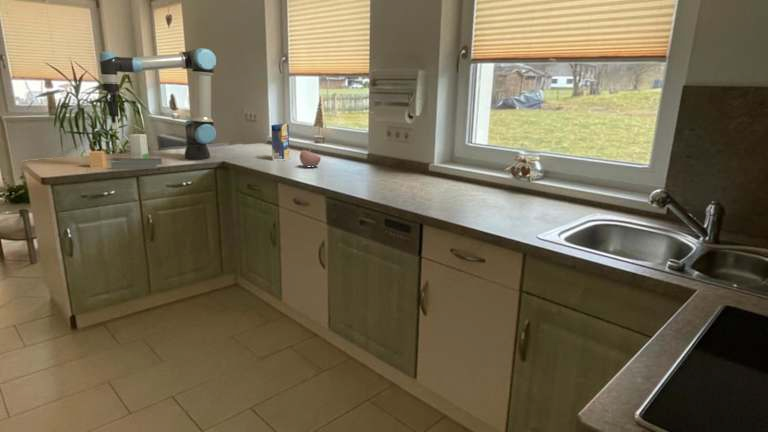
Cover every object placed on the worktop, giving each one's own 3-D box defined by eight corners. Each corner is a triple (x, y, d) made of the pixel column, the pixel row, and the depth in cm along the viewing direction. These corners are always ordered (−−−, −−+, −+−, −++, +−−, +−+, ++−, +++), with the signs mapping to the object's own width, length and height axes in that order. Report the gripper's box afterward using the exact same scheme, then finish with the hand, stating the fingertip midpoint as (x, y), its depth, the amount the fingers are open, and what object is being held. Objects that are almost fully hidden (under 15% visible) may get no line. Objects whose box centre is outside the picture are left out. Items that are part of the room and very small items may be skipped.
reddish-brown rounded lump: (324, 168, 280) (324, 148, 277) (307, 169, 273) (306, 149, 270) (313, 165, 289) (313, 146, 286) (296, 166, 281) (295, 147, 278)
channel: (162, 164, 274) (161, 158, 274) (156, 168, 260) (155, 162, 259) (119, 164, 269) (119, 158, 269) (111, 168, 255) (110, 162, 254)
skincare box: (142, 162, 278) (139, 135, 274) (131, 161, 278) (128, 134, 274) (149, 160, 286) (146, 133, 282) (138, 159, 286) (135, 133, 282)
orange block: (106, 165, 264) (104, 151, 262) (102, 167, 258) (101, 152, 256) (94, 165, 262) (92, 151, 260) (90, 167, 257) (88, 152, 255)
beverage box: (289, 159, 309) (288, 124, 303) (282, 161, 299) (281, 125, 293) (279, 158, 310) (278, 123, 304) (272, 160, 300) (271, 125, 294)
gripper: (106, 82, 256) (111, 127, 263) (98, 82, 244) (103, 129, 250) (121, 83, 258) (126, 127, 264) (114, 83, 246) (119, 130, 252)
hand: (115, 128), depth 257 cm, fingers closed
